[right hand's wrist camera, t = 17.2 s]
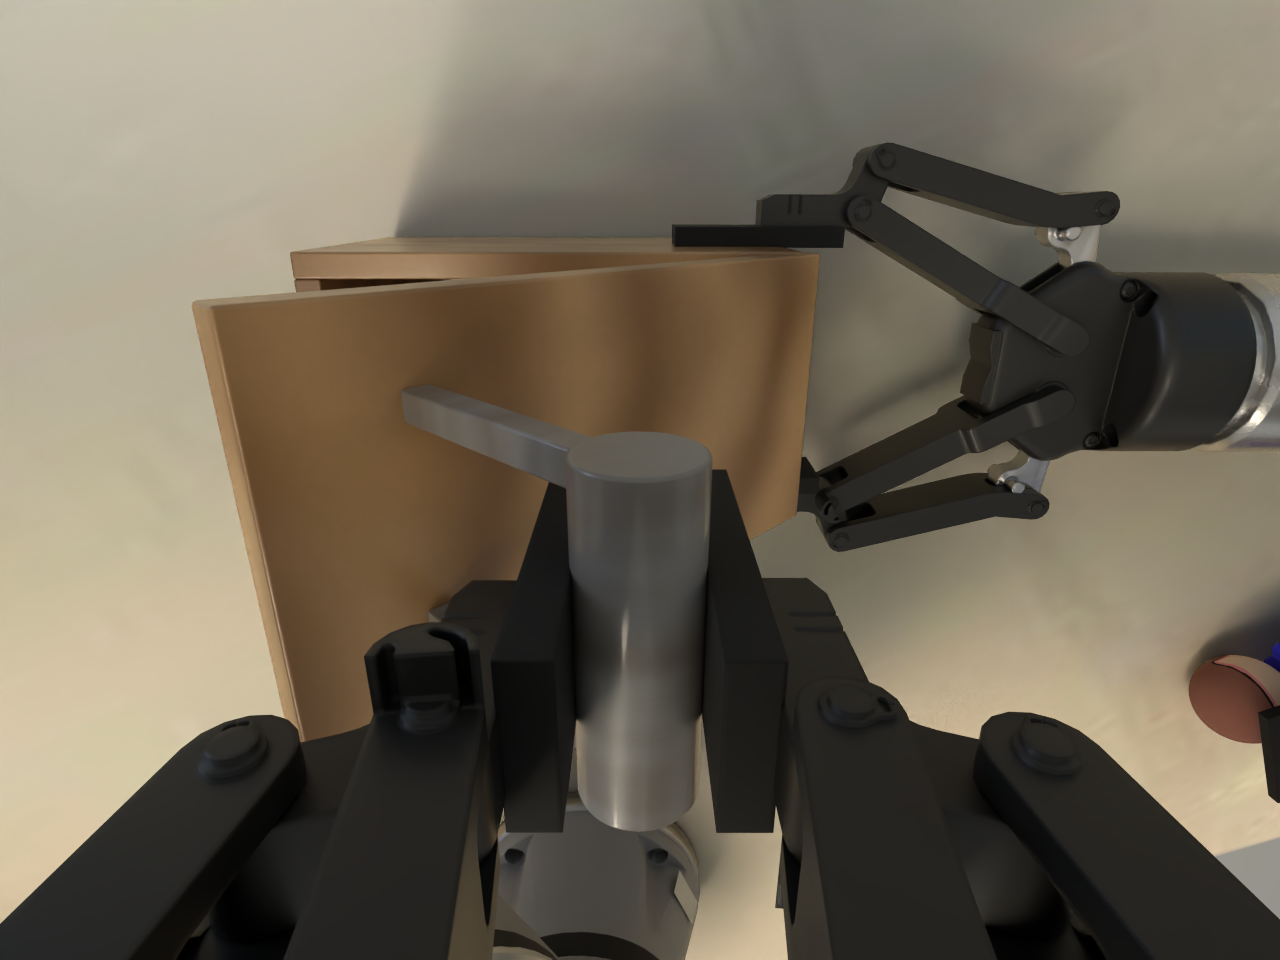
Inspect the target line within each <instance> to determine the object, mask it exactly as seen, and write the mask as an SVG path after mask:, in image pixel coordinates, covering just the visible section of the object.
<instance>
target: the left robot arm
mask: <svg viewBox="0 0 1280 960" xmlns="http://www.w3.org/2000/svg"><path fill="white" fill-rule="evenodd" d="M852 166H853V169H852V171H851V173H850V176H849V178H848V180H847V182H846V184H845V186H844V187H843V188H842V189H841V190H840V191H838V192H837V193H834V194H831V195H768V196H766V197H763V198H761V199H758V200H757V207H756V223H755V225H672V244H673V245H674V246H675V247H784V248H843V242H844V233H845V229H846V230H847V231H849V232H851V233H852V234H854V235H855V236H857V237H859V238H860V239H862V240H864V241H865V242H867V243H868V244H870V245H872V246H873V247H875V248H876V249H878V250H880V251H881V252H883V253H884V254H886V255H888V256H889V257H891V258H893V259H894V260H896V261H897V262H899V263H901V264H902V265H904V266H905V267H907V268H909V269H910V270H912V271H913V272H915V273H917V274H918V275H920V276H922V277H923V278H925V279H926V280H928V281H930V282H931V283H933V284H934V285H936V286H938V287H939V288H941V289H943V290H944V291H946V292H947V293H949V294H951V295H952V296H954V297H955V298H956V299H957V300H958V301H960V302H961V303H963V304H964V305H966V306H968V307H969V308H971V309H972V310H974V311H976V312H977V313H979V314H980V315H982V316H981V317H980V319H979V321H978V323H972V327H971V332H970V338H969V345H970V355H971V359H970V361H969V364H968V366H967V368H966V370H965V373H964V375H963V379H962V385H961V390H960V393H962V394H964V396H962V397H960V398H958V399H956V400H954V401H951V402H949V403H947V404H945V405H943V406H942V407H940V408H939V410H938V412H937V413H936V414H935V415H933V416H931V417H929V418H927V419H925V420H923V421H921V422H919V423H917V424H914V425H912V426H910V427H908V428H906V429H904V430H902V431H900V432H898V433H896V434H894V435H892V436H890V437H888V438H886V439H884V440H882V441H879V442H877V443H875V444H873V445H871V446H869V447H867V448H865V449H863V450H861V451H859V452H857V453H855V454H853V455H851V456H849V457H847V458H844V459H842V460H840V461H838V462H836V463H834V464H832V465H830V466H828V467H826V468H824V469H822V470H820V471H818V472H815V470H814V469H813V467H812V466H811V464H810V463H809V461H808V459H807V458H806V457H802V459H801V470H800V481H799V492H798V503H797V512H811V513H813V514H815V516H816V522H817V524H818V526H819V528H820V530H821V532H822V534H823V535H824V537H825V539H826V541H827V543H828V544H829V546H830V548H832V549H833V550H834V551H838V552H841V551H847V550H852V549H856V548H860V547H865V546H869V545H873V544H878V543H882V542H886V541H891V540H895V539H899V538H904V537H908V536H912V535H917V534H921V533H925V532H930V531H934V530H938V529H943V528H947V527H951V526H956V525H960V524H964V523H969V522H973V521H977V520H982V519H986V518H990V517H995V516H997V517H1009V518H1021V519H1038V518H1040V517H1042V516H1043V515H1044V514H1046V512H1047V511H1048V509H1049V501H1048V499H1047V498H1046V497H1045V496H1043V495H1042V494H1041V493H1040V490H1041V486H1042V483H1043V480H1044V477H1045V474H1046V471H1047V468H1048V465H1049V462H1050V460H1054V459H1058V458H1060V457H1062V456H1064V455H1066V454H1068V453H1071V452H1074V451H1079V450H1097V451H1182V450H1188V449H1190V450H1196V451H1203V452H1215V451H1280V273H1219V274H1215V275H1212V274H1207V273H1155V272H1112V271H1110V270H1108V269H1106V268H1105V267H1104V266H1102V265H1100V264H1098V263H1096V258H1097V251H1098V244H1099V238H1100V231H1101V225H1103V224H1106V223H1109V222H1110V221H1111V220H1113V219H1114V218H1115V216H1116V215H1117V214H1118V211H1119V208H1120V200H1119V198H1118V196H1117V195H1116V194H1115V193H1113V192H1108V191H1096V192H1066V193H1052V192H1049V191H1046V190H1043V189H1040V188H1036V187H1033V186H1030V185H1027V184H1023V183H1020V182H1017V181H1014V180H1011V179H1007V178H1004V177H1001V176H998V175H994V174H991V173H988V172H985V171H981V170H978V169H975V168H972V167H969V166H965V165H962V164H959V163H956V162H952V161H949V160H946V159H943V158H940V157H936V156H933V155H930V154H927V153H923V152H920V151H917V150H914V149H910V148H907V147H904V146H901V145H898V144H894V143H883V144H879V145H874V146H870V147H867V148H864V149H861V150H860V151H859V152H858V153H857V154H856V156H855V157H854V159H853V165H852ZM887 187H890V188H893V189H896V190H899V191H903V192H906V193H909V194H913V195H916V196H919V197H923V198H926V199H929V200H932V201H936V202H939V203H942V204H946V205H949V206H952V207H955V208H959V209H962V210H965V211H969V212H972V213H975V214H979V215H982V216H985V217H988V218H992V219H995V220H998V221H1002V222H1005V223H1009V224H1014V225H1021V226H1034V227H1036V229H1035V235H1036V237H1037V240H1038V242H1039V243H1040V244H1041V245H1043V246H1047V247H1052V248H1053V249H1055V250H1056V251H1057V253H1058V255H1059V262H1058V263H1056V264H1054V265H1052V266H1051V267H1049V268H1048V269H1046V270H1045V271H1043V272H1042V273H1040V274H1039V275H1037V276H1036V277H1034V278H1033V279H1031V280H1029V281H1028V282H1026V283H1025V284H1023V285H1022V286H1020V287H1017V286H1016V285H1014V284H1012V283H1010V282H1008V281H1006V280H1003V279H1001V278H999V277H998V276H996V275H994V274H993V273H991V272H990V271H988V270H987V269H985V268H983V267H982V266H980V265H979V264H977V263H976V262H974V261H972V260H971V259H969V258H968V257H966V256H965V255H963V254H961V253H960V252H958V251H957V250H955V249H954V248H952V247H950V246H949V245H947V244H946V243H944V242H942V241H941V240H939V239H938V238H936V237H935V236H933V235H931V234H930V233H928V232H927V231H925V230H924V229H922V228H920V227H919V226H917V225H916V224H914V223H913V222H911V221H909V220H908V219H906V218H905V217H903V216H902V215H900V214H898V213H897V212H895V211H894V210H892V209H891V208H889V207H887V206H886V205H884V204H883V203H881V200H882V197H883V195H884V193H885V191H886V189H887ZM1005 441H1008V442H1010V443H1011V444H1012V445H1013V446H1015V447H1016V448H1017V449H1019V451H1018V454H1017V455H1016V457H1015V458H1014V459H1013V460H1011V461H1009V462H1007V463H1001V464H998V465H997V464H993V465H991V466H990V467H989V468H988V473H972V474H965V475H960V476H955V477H951V478H947V479H943V480H938V481H934V482H930V483H926V484H921V485H917V486H913V487H909V488H905V489H900V490H896V491H892V492H888V493H883V492H886V491H888V490H890V489H892V488H894V487H896V486H898V485H900V484H903V483H905V482H907V481H909V480H911V479H913V478H915V477H917V476H920V475H922V474H924V473H926V472H928V471H930V470H932V469H934V468H937V467H939V466H941V465H943V464H945V463H947V462H949V461H951V460H953V459H956V458H958V457H960V456H962V455H964V454H967V453H979V452H983V451H986V450H988V449H990V448H992V447H994V446H997V445H999V444H1001V443H1003V442H1005ZM881 493H883V494H881ZM498 844H499V855H500V876H499V888H498V899H497V910H496V921H495V932H494V943H493V954H492V960H685V957H686V953H687V949H688V945H689V941H690V937H691V933H692V930H693V926H694V922H695V918H696V914H697V909H698V902H699V877H698V866H697V860H696V856H695V853H694V850H693V848H692V846H691V844H690V842H689V840H688V839H687V837H686V836H685V834H684V833H683V832H682V830H681V829H680V828H679V827H678V826H677V825H676V824H675V823H672V824H670V825H668V826H665V827H663V828H660V829H656V830H651V831H640V832H637V831H626V830H621V829H617V828H614V827H611V826H609V825H607V824H605V823H603V822H601V821H600V820H598V819H597V818H596V817H594V816H593V815H592V814H591V813H590V812H589V811H588V809H587V808H586V807H585V805H584V804H583V802H582V800H581V798H580V795H579V792H576V793H568V794H567V803H566V811H565V819H564V827H563V833H506V826H505V822H504V823H503V824H502V825H501V826H500V827H499V830H498Z"/></svg>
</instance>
